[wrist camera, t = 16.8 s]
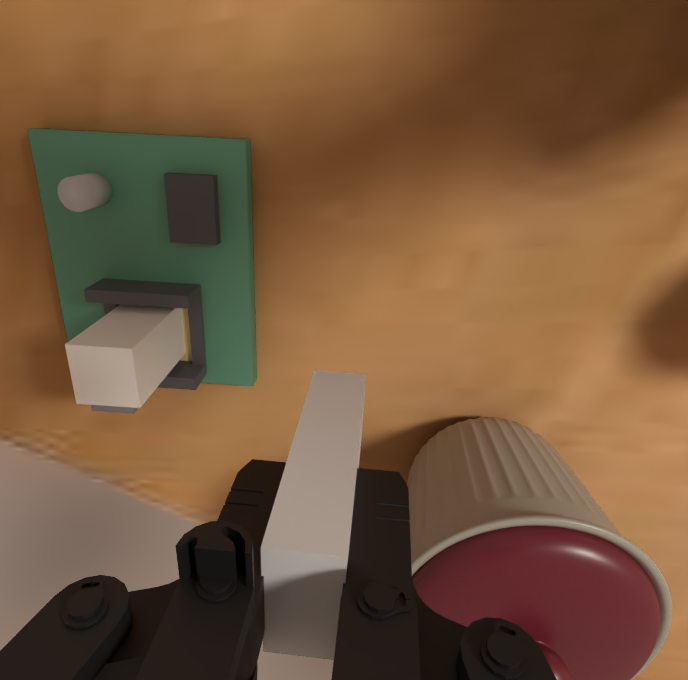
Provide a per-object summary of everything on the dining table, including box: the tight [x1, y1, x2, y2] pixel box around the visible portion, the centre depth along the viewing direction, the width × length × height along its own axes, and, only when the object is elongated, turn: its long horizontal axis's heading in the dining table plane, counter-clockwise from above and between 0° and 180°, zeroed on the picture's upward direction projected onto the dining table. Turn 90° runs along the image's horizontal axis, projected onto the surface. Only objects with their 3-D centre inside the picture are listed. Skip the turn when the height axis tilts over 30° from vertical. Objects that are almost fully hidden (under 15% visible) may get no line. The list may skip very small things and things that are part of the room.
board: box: [28, 128, 257, 390], centre depth 40 cm, size 20×16×4 cm
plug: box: [65, 304, 185, 413], centre depth 39 cm, size 5×4×9 cm
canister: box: [407, 417, 672, 680], centre depth 39 cm, size 18×18×21 cm
